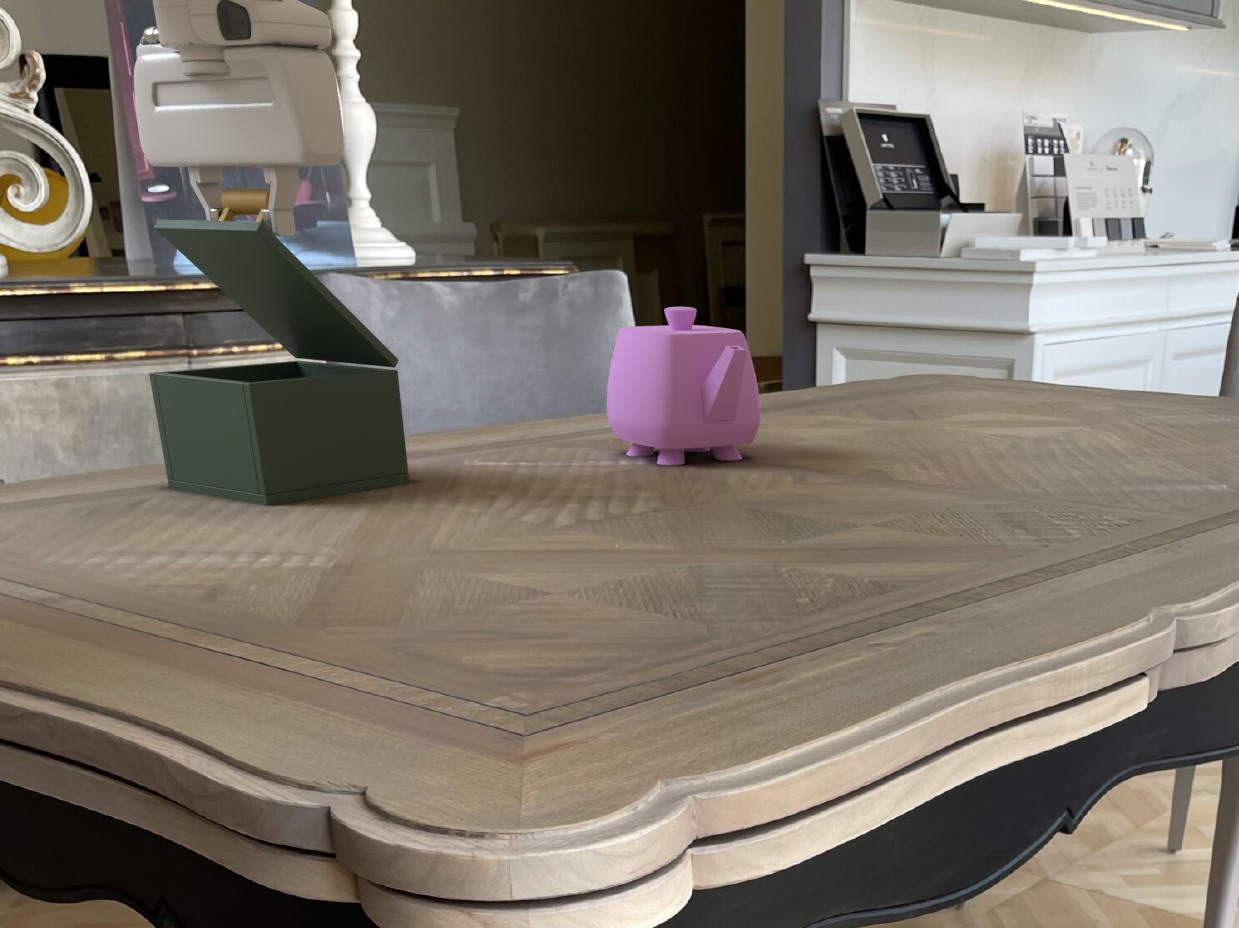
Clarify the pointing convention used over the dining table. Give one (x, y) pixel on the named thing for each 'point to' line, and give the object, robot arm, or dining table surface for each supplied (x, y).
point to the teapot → (682, 389)
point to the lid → (274, 283)
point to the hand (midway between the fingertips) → (252, 235)
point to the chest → (280, 430)
